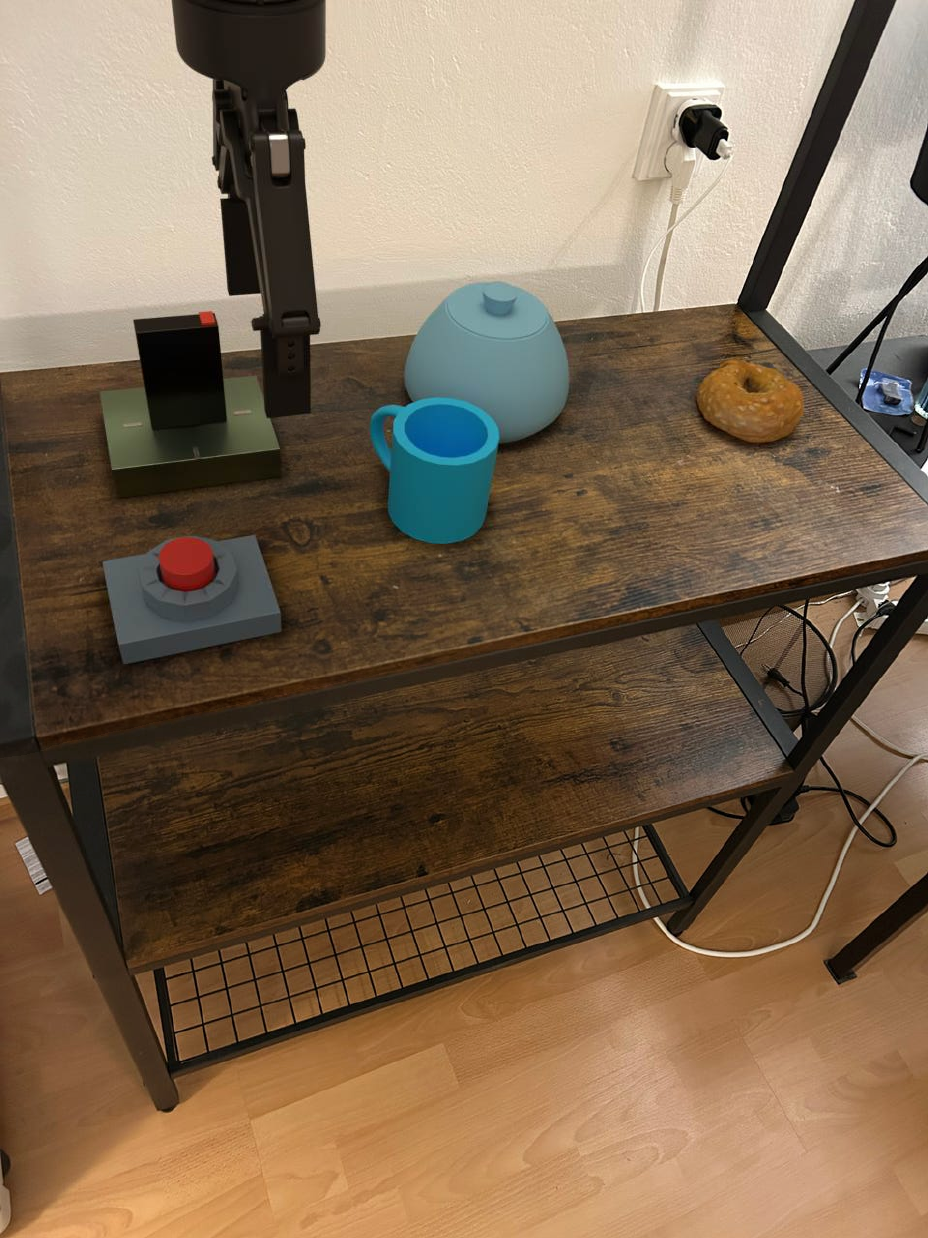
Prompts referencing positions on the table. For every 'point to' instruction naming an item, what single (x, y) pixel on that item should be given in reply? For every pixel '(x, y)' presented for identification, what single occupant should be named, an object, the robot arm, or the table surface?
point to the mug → (437, 467)
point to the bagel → (750, 401)
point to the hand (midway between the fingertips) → (266, 348)
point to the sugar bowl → (492, 357)
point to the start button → (187, 564)
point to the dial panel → (189, 443)
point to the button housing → (191, 602)
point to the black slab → (181, 369)
